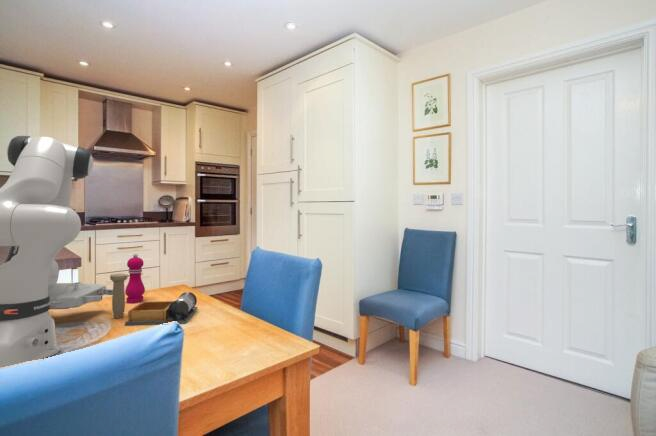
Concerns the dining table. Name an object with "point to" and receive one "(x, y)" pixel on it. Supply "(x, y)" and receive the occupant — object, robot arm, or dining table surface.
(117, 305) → the handle
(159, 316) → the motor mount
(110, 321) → the dining table surface
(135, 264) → the pepper mill
